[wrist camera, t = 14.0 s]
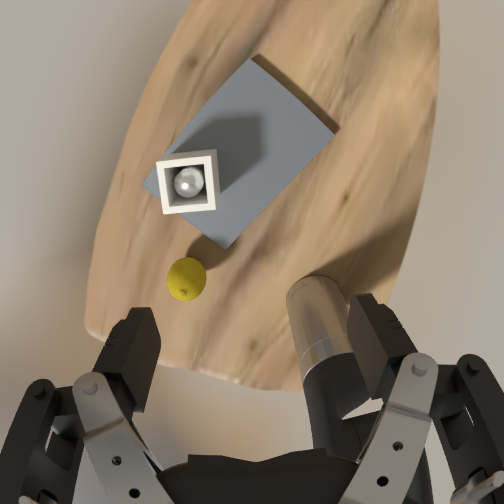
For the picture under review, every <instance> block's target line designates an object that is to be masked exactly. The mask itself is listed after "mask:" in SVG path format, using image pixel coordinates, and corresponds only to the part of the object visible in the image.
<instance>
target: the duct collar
mask: <svg viewBox="0 0 504 504" xmlns="http://www.w3.org/2000/svg"><path fill="white" fill-rule="evenodd" d="M197 164H204V170H205V180H206V189H201V190H200V192H199V193H198V194H197V195H196V196H194V197H190V198H186V197H183V196H181V195H179V194H178V193H177V191H176V190H175V187H174V180H175V177H176V176H177V174H178V173H179V166H188V165H197ZM156 166H157V174H158V181H159V188H160V195H161V201H162V208H163V214H172V213H183V212H195V211H207V210H216V208H217V204H218V201H219V197H220V194H221V193H220V182H219V171H218V159H217V149H210V150H200V151H190V152H182V153H174V154H170V155H168V156H166V157H164V158H163V159H161V160H159V161H157V162H156Z"/></svg>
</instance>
